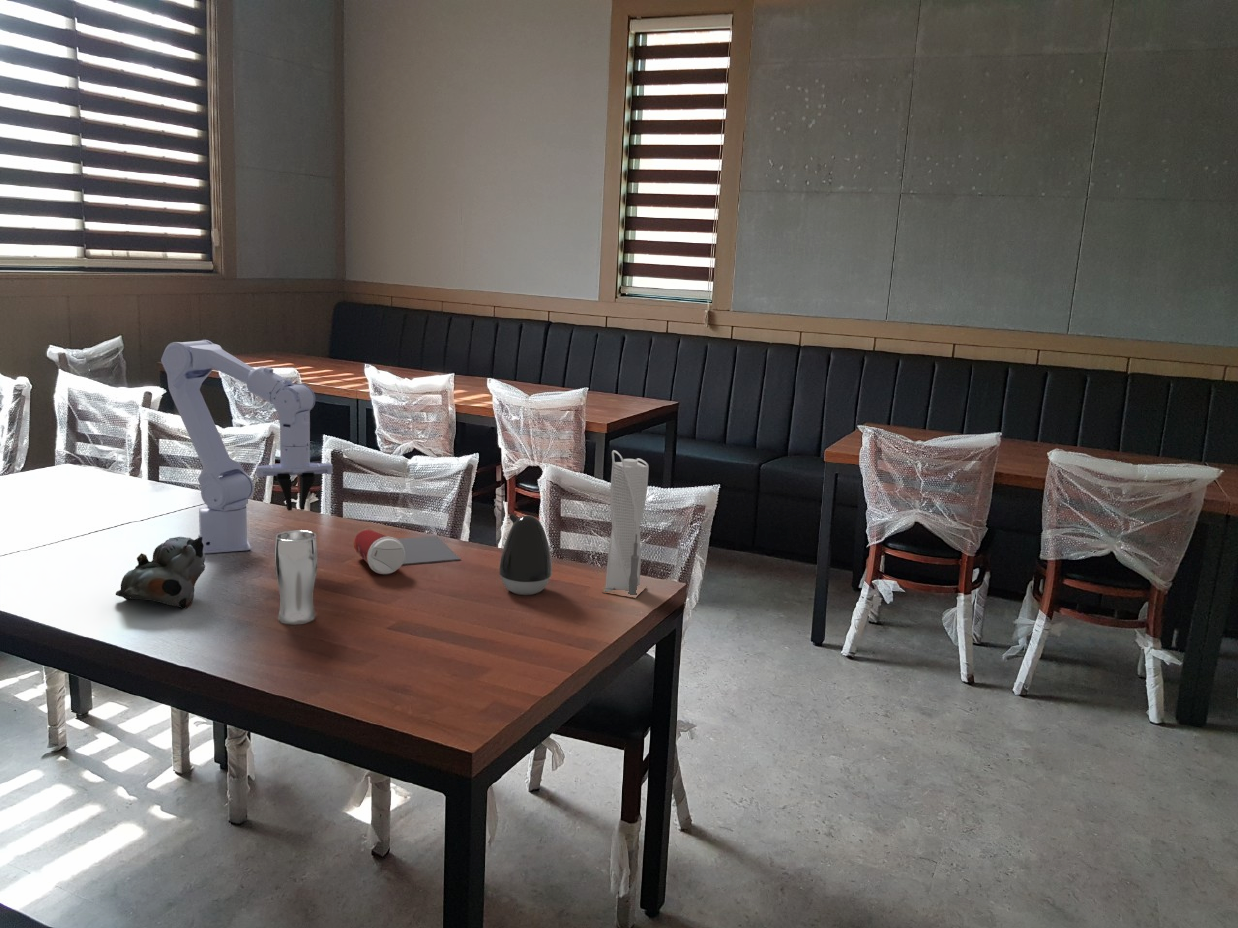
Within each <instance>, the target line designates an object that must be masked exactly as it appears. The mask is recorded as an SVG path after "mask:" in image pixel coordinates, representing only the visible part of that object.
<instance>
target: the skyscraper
mask: <svg viewBox="0 0 1238 928" xmlns="http://www.w3.org/2000/svg"><path fill="white" fill-rule="evenodd" d="M615 454H617V455H618V456H619V459H620V461H615ZM611 459H612V463H611V475H610V489H609V490H610V492H609V493H610V495H609V498H610V499H609V500H610V501H609V502H610V503H609V504H610V505H609V506H610V507H609V508H610V520H611V527H612V528H611V534H610V538H609V539H610V540H609V546H608V554H607V564H606V565H607V566H606V577H605V588H604V589H603V590H601V592H602V591H605V592H610V591H612V590H625V591H629V592H628V594H630V595H637V593H636V590H637V586H638V585H640V583H641V582H640V580H641V566H642V565H641V564H642V563H641V561H642V560H641V559H642V547H641V544H642V543H641V542H642V541H641V540H642V539H641V527H640V525H641V523H642V519H643V515H644V511H645V506H646V501H647V493H648V483H649V471H650V470H649V466H650V465H649V463H648V462H646V461H645V460H643V459H642V458H638V457H637V458H635V459H634V458H623V456H622V455H621V454H620V453H619V452H618V451H617V450H614V449H613V450H612V451H611ZM645 586H646V585H645ZM646 587H647V588H648V586H646ZM613 593H615V592H613Z"/></svg>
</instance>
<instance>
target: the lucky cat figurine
mask: <svg viewBox="0 0 1238 928" xmlns="http://www.w3.org/2000/svg"><path fill="white" fill-rule="evenodd" d="M203 547H204V545H203V543H202V537H199V538H198V537H197V538H195V539H194V538H191V537H184V536H175V537H169V538H168V539H167V540H165V542H162V543H160V544H159V545H157V546H156V547H155V548H154V551H153V553H152V560H151V561H149V559H148V556H147V554H144V553H142V552H141V553H140V554H139V555H138V556H137V557H136V560H137V565H136V566H135V568H134V569H131V570H128V571H127V572H126V573H125V574H124V576H123V577H122V579H121V582H120V589H119V590H117V591H116V592H115V596H117V597H119V598H123V599H124V600H126V601H128V600H130V599H132V600H133V599H134V600H142V601H143V600H145V601H153V602H157V603H161V604H165V605H168V606H173V607H179V608H180V609H184V610H185V609H188V608H189V607H190V606H191V605H192V604H193V601H194V598H195V585H196V583H197V581H198V579H199V578H200V577H201V575H202V574H203V573H204V571H205V570H206V565H205V561H206V553H204V552H203Z"/></svg>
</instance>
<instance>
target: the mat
mask: <svg viewBox="0 0 1238 928" xmlns="http://www.w3.org/2000/svg"><path fill="white" fill-rule="evenodd" d="M397 539H398V540H399V541H400V542H401V543H402V545H403V547H404V550H405V560H404V562H403V564H402V565H401V566H409V565H419V564H421V565H422V564H430V563H441V562H442V563H443V562H444V561H445V562H455V561H456V562H457V561H461V560H462V558H460V556H459V555H457V553H456V552H454V551H453V549H451V548H450V547H449V546H448V545H447V544H446V543H445V542H444V541H443V540H442V539H441V538H439V536H437V535H431V536H418V537H405V538H397Z"/></svg>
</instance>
